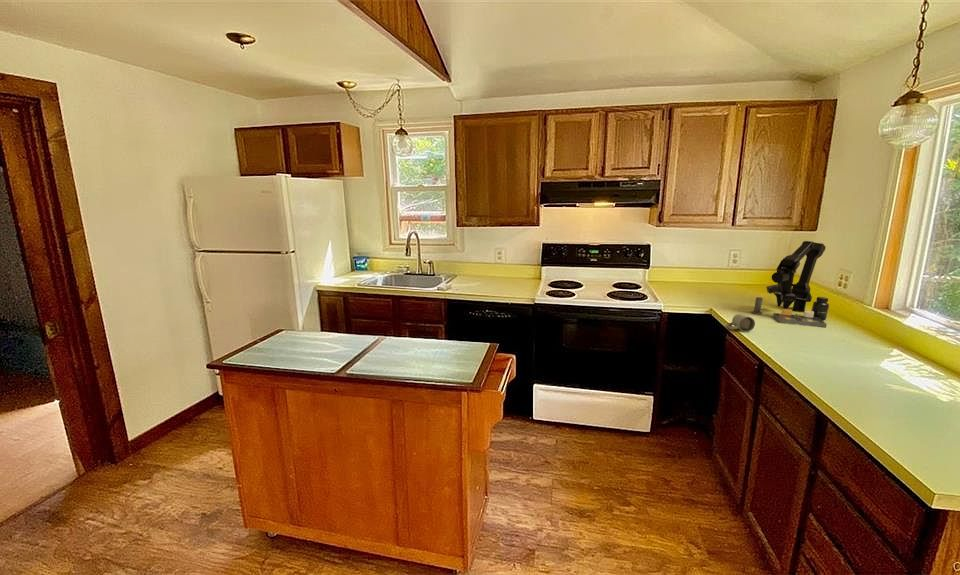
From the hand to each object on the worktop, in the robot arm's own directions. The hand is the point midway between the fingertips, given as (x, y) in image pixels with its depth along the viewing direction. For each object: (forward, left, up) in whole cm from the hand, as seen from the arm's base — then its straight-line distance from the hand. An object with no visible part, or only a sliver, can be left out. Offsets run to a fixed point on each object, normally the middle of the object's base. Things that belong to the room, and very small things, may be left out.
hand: (781, 308), depth 235 cm
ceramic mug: (+38, -28, -4) cm, 47 cm away
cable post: (+3, -12, -4) cm, 13 cm away
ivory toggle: (+9, +10, -2) cm, 13 cm away
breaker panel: (+12, +5, -4) cm, 13 cm away
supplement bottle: (+2, +17, -4) cm, 17 cm away
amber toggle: (+9, 0, -2) cm, 9 cm away
